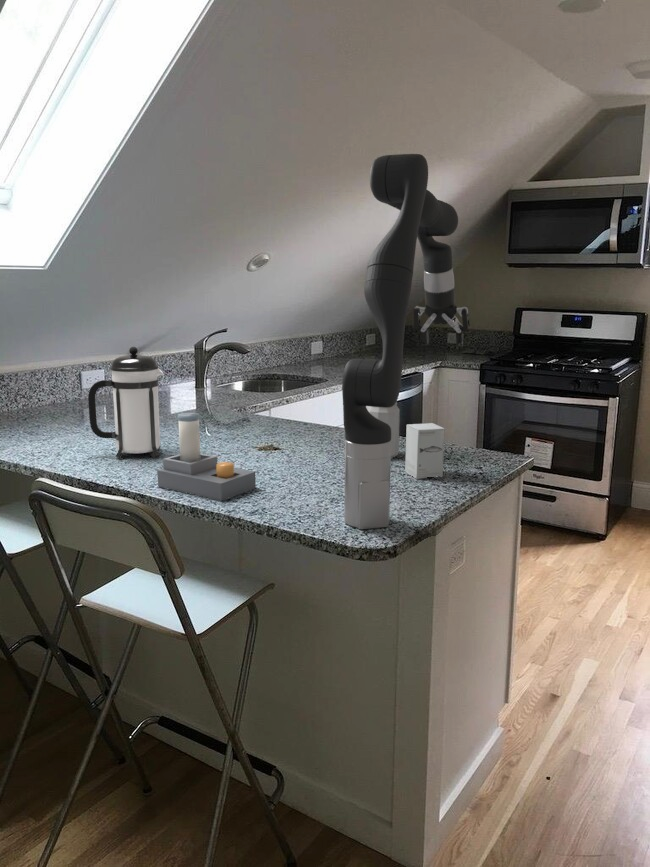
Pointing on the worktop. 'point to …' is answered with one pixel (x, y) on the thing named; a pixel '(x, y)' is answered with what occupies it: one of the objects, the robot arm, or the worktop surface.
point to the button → (225, 470)
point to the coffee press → (132, 404)
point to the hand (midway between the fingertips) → (442, 344)
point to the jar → (389, 423)
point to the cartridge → (189, 437)
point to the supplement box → (424, 450)
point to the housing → (203, 478)
